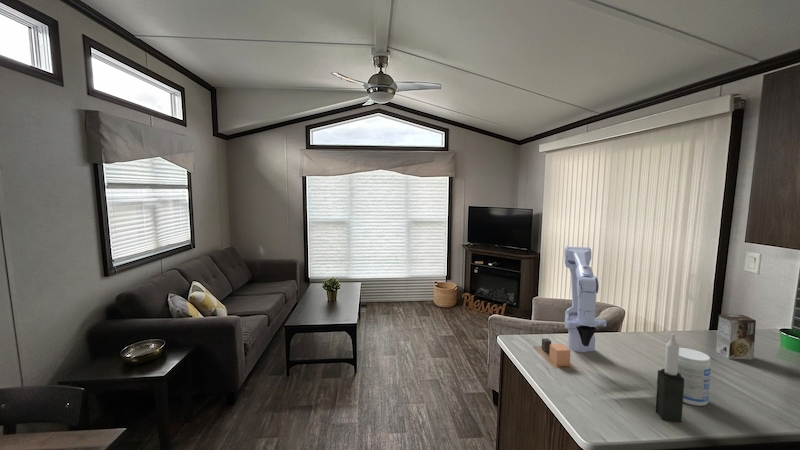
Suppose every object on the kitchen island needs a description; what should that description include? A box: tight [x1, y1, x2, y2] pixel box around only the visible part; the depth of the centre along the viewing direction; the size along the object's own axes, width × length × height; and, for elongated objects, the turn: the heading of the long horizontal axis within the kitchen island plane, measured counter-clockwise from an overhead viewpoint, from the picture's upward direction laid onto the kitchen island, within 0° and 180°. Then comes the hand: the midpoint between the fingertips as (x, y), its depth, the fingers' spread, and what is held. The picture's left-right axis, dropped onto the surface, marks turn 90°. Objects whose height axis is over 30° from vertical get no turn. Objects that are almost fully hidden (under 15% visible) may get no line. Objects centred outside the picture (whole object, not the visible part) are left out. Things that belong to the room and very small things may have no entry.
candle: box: [655, 333, 684, 423], centre depth 99 cm, size 5×5×25 cm
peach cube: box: [549, 343, 571, 366], centre depth 129 cm, size 5×5×6 cm
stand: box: [532, 338, 576, 369], centre depth 134 cm, size 8×18×6 cm, turn 4°
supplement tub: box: [678, 347, 712, 407], centre depth 108 cm, size 10×10×15 cm
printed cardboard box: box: [715, 313, 757, 360], centre depth 136 cm, size 9×6×16 cm
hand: (585, 345), depth 126 cm, fingers closed
